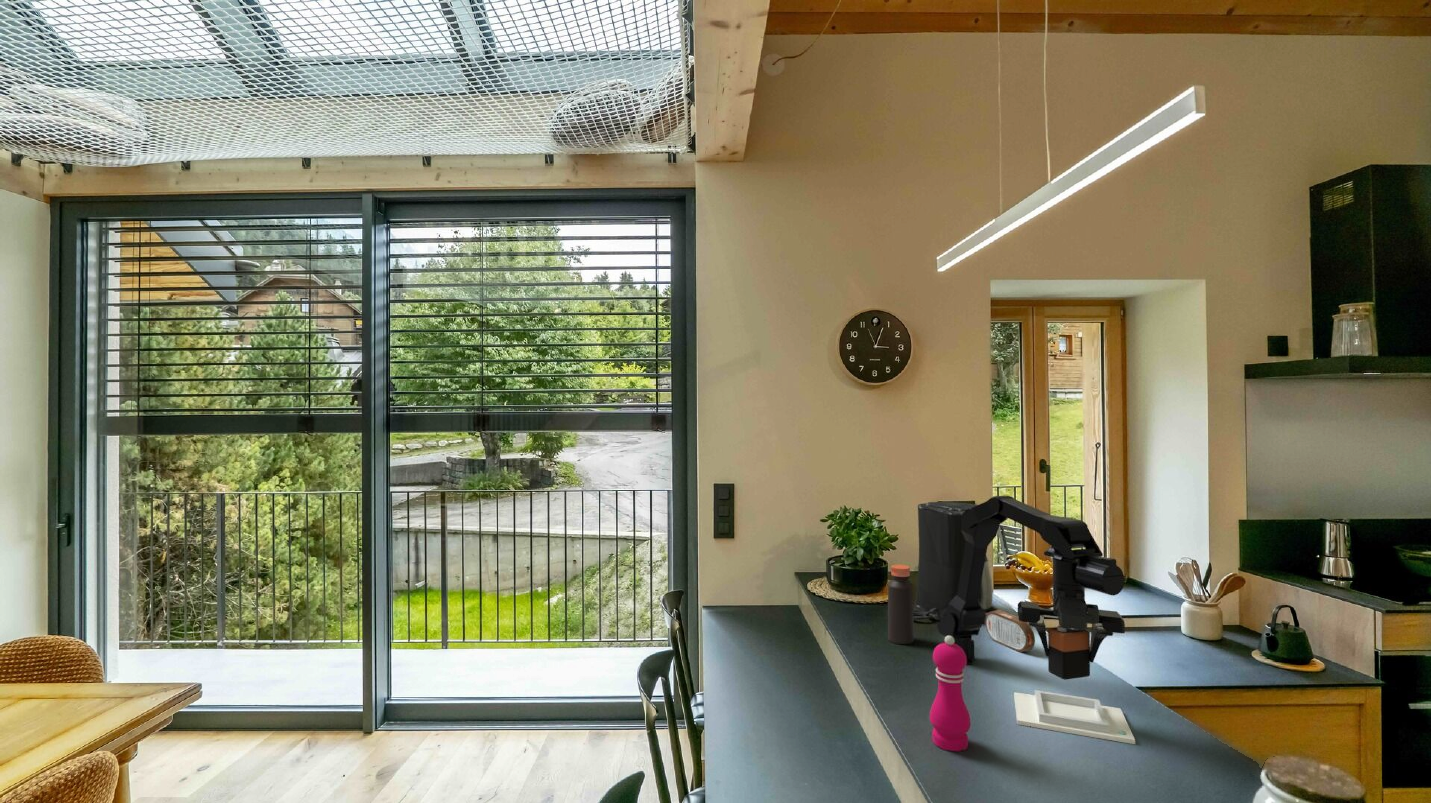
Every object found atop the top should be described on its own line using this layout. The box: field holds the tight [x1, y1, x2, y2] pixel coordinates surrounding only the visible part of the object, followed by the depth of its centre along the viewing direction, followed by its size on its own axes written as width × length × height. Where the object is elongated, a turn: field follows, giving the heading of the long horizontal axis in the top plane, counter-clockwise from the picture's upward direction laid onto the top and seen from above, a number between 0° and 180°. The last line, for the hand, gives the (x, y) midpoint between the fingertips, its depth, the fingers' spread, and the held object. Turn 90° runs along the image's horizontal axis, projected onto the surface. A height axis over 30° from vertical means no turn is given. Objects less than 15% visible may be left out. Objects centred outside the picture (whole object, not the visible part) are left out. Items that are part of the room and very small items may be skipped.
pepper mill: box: [929, 636, 972, 752], centre depth 121 cm, size 7×7×20 cm
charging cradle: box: [1013, 689, 1136, 745], centre depth 130 cm, size 20×14×2 cm
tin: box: [984, 609, 1036, 653], centre depth 171 cm, size 15×3×8 cm, turn 20°
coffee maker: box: [914, 501, 999, 622], centre depth 199 cm, size 23×32×34 cm
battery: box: [1047, 625, 1091, 681], centre depth 131 cm, size 4×7×10 cm, turn 106°
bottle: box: [887, 564, 915, 645], centre depth 175 cm, size 7×7×20 cm
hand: (1068, 658), depth 131 cm, fingers closed on battery, 8 cm apart
